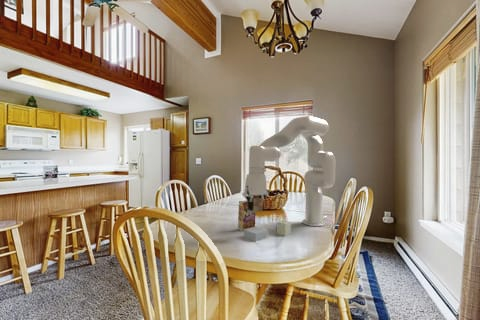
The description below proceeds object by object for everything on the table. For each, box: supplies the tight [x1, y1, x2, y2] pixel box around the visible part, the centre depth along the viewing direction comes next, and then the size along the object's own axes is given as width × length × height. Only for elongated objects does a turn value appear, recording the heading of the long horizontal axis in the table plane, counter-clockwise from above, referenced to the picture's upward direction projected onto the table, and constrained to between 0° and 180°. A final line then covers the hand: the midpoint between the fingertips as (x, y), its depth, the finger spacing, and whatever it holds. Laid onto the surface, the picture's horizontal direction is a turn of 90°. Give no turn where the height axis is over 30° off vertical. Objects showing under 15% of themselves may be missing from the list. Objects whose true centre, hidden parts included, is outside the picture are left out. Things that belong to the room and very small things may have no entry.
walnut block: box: [248, 196, 264, 213], centre depth 111 cm, size 5×5×6 cm
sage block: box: [276, 219, 292, 237], centre depth 118 cm, size 5×5×6 cm
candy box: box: [237, 200, 257, 232], centre depth 124 cm, size 9×4×15 cm, turn 123°
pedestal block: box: [243, 225, 269, 243], centre depth 112 cm, size 8×8×4 cm
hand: (255, 208), depth 111 cm, fingers closed on walnut block, 5 cm apart
